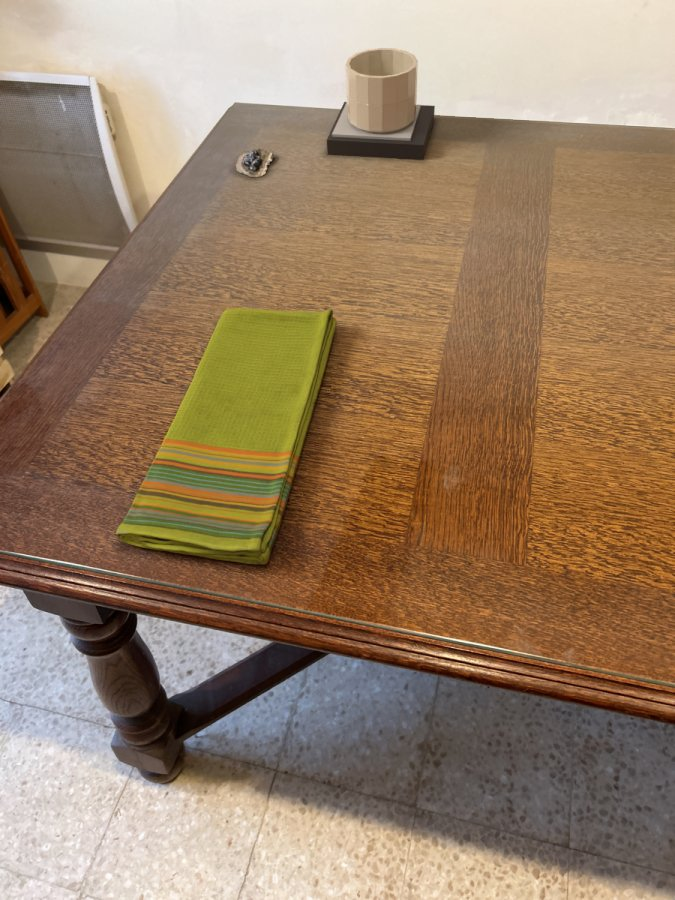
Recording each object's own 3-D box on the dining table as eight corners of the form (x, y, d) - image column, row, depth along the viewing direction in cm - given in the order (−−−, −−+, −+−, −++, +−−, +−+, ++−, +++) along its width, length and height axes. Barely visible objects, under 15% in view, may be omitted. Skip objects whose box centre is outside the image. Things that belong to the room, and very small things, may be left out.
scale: (434, 120, 124) (435, 102, 122) (423, 159, 115) (423, 141, 113) (344, 115, 127) (344, 98, 124) (327, 154, 118) (326, 136, 116)
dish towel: (117, 549, 69) (107, 530, 67) (223, 316, 92) (219, 296, 89) (268, 571, 67) (264, 552, 64) (339, 326, 89) (338, 306, 87)
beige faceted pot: (419, 105, 121) (421, 49, 114) (409, 136, 114) (411, 78, 107) (355, 102, 123) (353, 47, 116) (342, 133, 116) (339, 76, 109)
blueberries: (274, 151, 120) (272, 140, 118) (278, 174, 114) (277, 163, 113) (234, 156, 119) (232, 145, 118) (237, 180, 114) (235, 169, 113)
